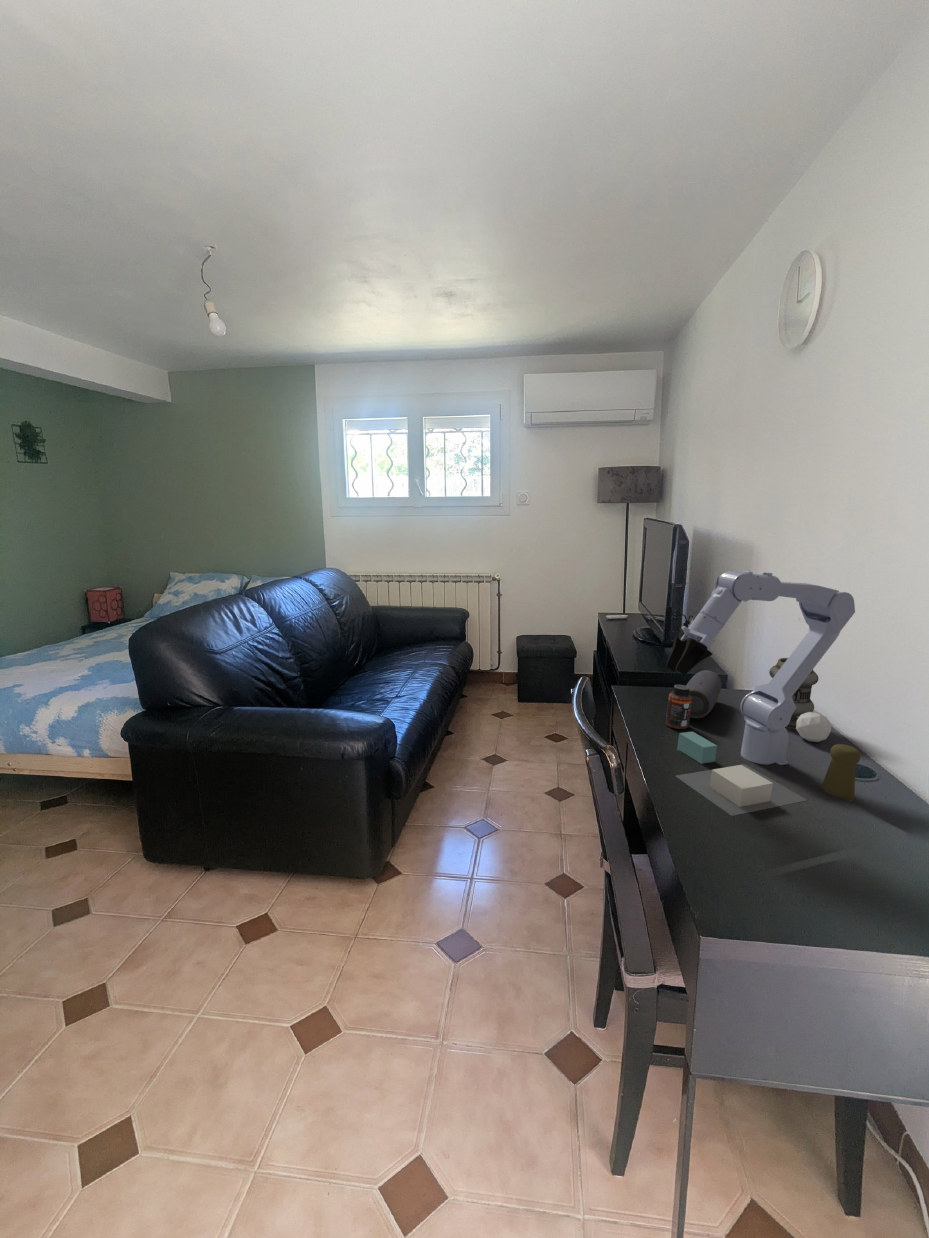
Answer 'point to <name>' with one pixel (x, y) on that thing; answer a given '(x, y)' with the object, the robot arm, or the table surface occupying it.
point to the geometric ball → (813, 726)
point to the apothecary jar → (799, 693)
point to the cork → (842, 772)
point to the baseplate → (702, 786)
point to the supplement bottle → (679, 707)
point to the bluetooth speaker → (703, 692)
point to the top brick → (697, 747)
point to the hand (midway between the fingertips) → (674, 670)
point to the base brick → (741, 785)
